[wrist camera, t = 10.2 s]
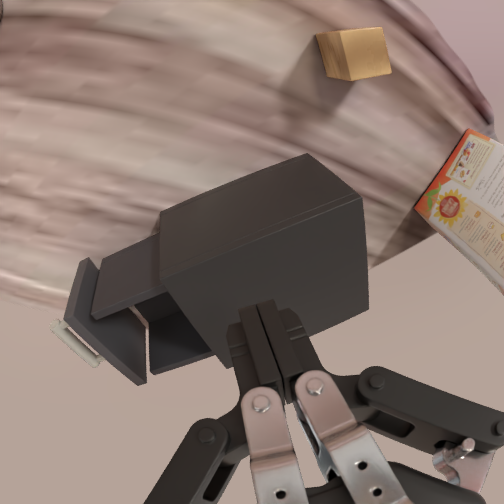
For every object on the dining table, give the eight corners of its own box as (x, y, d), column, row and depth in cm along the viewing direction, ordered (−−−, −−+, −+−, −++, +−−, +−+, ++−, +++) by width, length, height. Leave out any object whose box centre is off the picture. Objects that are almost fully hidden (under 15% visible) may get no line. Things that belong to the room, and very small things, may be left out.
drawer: (105, 341, 33) (102, 395, 27) (47, 278, 26) (27, 334, 20) (242, 289, 34) (260, 344, 27) (202, 204, 27) (214, 256, 20)
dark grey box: (211, 300, 35) (226, 369, 27) (160, 211, 27) (159, 279, 19) (328, 252, 35) (369, 309, 27) (307, 152, 27) (362, 196, 19)
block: (314, 33, 20) (339, 31, 17) (354, 28, 20) (382, 26, 17) (326, 77, 23) (351, 81, 20) (364, 69, 23) (392, 73, 20)
